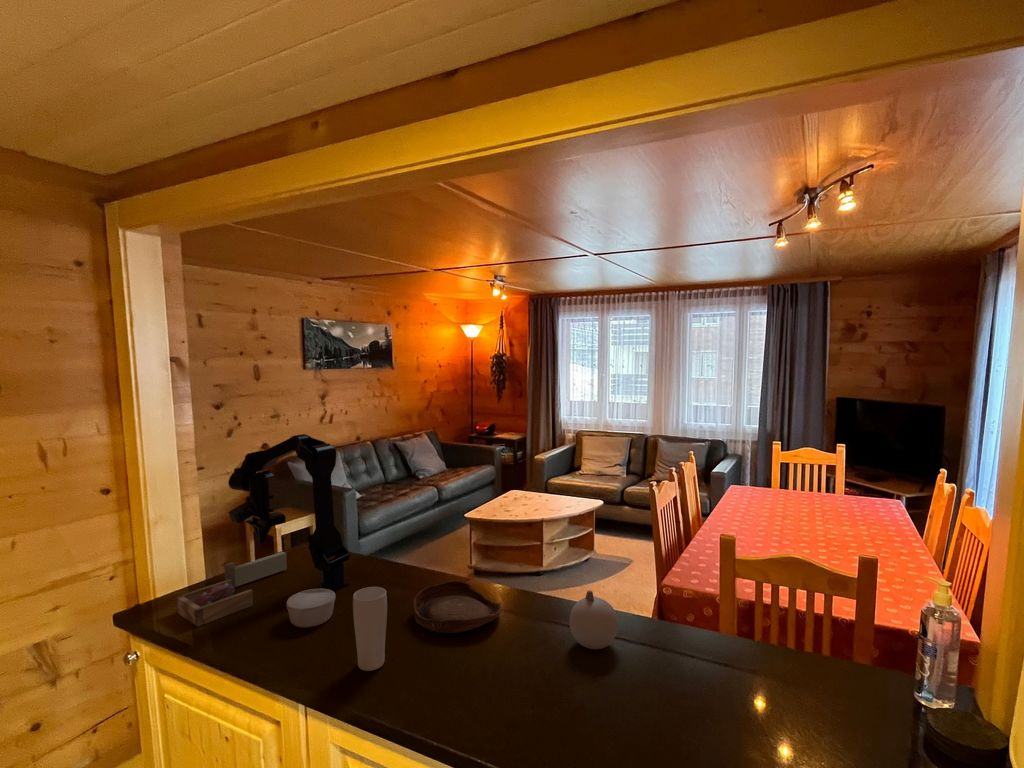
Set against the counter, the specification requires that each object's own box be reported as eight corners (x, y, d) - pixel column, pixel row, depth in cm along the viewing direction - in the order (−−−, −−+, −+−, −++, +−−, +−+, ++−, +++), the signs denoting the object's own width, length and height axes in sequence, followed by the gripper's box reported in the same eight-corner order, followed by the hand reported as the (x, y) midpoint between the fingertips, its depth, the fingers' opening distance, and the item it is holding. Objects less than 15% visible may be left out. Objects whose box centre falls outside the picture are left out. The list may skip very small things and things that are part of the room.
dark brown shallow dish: (518, 617, 125) (518, 597, 125) (459, 652, 110) (459, 630, 110) (455, 591, 140) (455, 573, 139) (395, 620, 124) (395, 600, 124)
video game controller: (196, 623, 127) (204, 600, 125) (185, 611, 128) (193, 589, 127) (232, 605, 136) (240, 584, 134) (222, 595, 137) (229, 574, 136)
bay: (253, 605, 132) (252, 590, 132) (197, 626, 122) (197, 610, 122) (230, 593, 140) (230, 578, 139) (176, 612, 129) (175, 596, 129)
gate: (282, 567, 156) (282, 546, 156) (287, 569, 154) (286, 548, 154) (223, 587, 142) (222, 564, 142) (227, 590, 141) (227, 566, 140)
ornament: (560, 646, 111) (560, 592, 111) (587, 628, 119) (587, 577, 118) (600, 664, 104) (600, 607, 104) (626, 644, 112) (626, 590, 111)
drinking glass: (394, 658, 107) (393, 588, 107) (376, 677, 101) (374, 602, 100) (367, 653, 110) (365, 584, 109) (347, 671, 103) (345, 598, 103)
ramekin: (336, 605, 132) (335, 585, 132) (335, 625, 122) (335, 604, 121) (289, 612, 129) (288, 591, 128) (284, 634, 118) (283, 611, 118)
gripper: (217, 493, 154) (219, 544, 154) (248, 503, 143) (249, 558, 143) (254, 486, 163) (255, 534, 163) (286, 494, 152) (287, 546, 152)
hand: (261, 543), depth 155 cm, fingers closed
